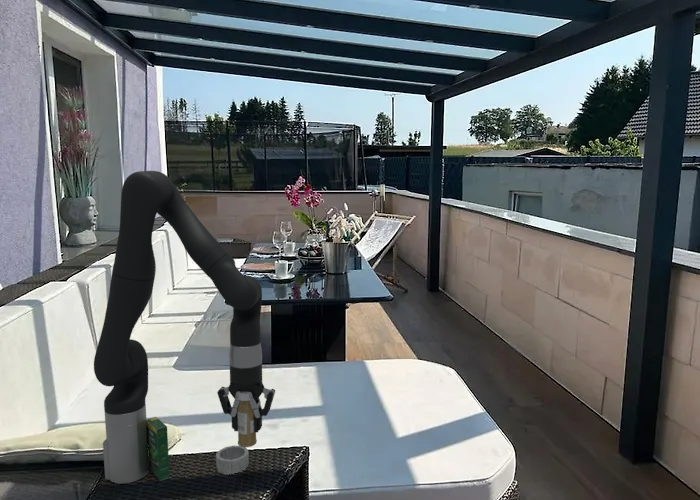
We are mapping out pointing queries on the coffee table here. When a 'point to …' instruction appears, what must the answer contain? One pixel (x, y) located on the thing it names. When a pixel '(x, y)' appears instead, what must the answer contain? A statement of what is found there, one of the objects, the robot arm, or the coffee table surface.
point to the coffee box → (158, 448)
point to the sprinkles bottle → (245, 421)
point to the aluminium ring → (232, 460)
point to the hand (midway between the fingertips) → (247, 430)
